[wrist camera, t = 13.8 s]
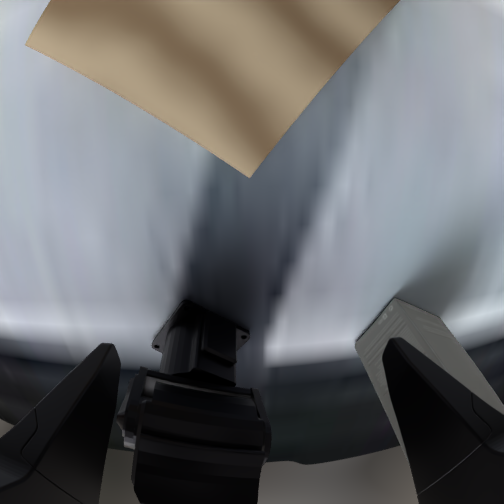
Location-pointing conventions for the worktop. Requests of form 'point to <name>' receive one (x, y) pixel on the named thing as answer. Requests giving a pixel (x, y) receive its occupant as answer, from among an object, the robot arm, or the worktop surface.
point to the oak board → (211, 60)
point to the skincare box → (426, 341)
